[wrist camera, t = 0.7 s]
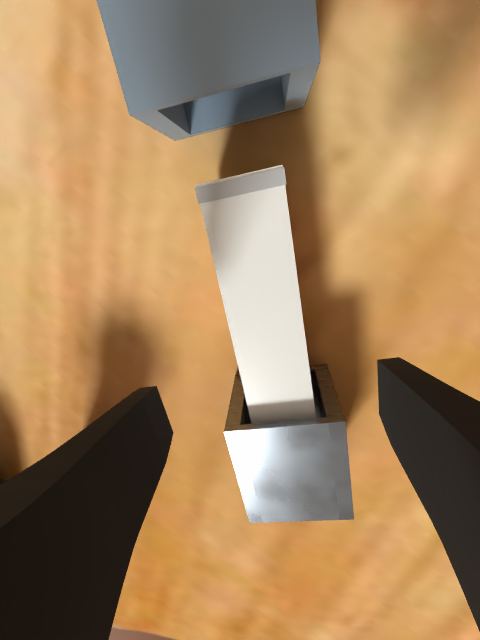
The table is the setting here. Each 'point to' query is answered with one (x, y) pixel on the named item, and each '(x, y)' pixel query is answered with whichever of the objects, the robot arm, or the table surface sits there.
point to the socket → (211, 60)
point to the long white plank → (260, 291)
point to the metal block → (292, 459)
